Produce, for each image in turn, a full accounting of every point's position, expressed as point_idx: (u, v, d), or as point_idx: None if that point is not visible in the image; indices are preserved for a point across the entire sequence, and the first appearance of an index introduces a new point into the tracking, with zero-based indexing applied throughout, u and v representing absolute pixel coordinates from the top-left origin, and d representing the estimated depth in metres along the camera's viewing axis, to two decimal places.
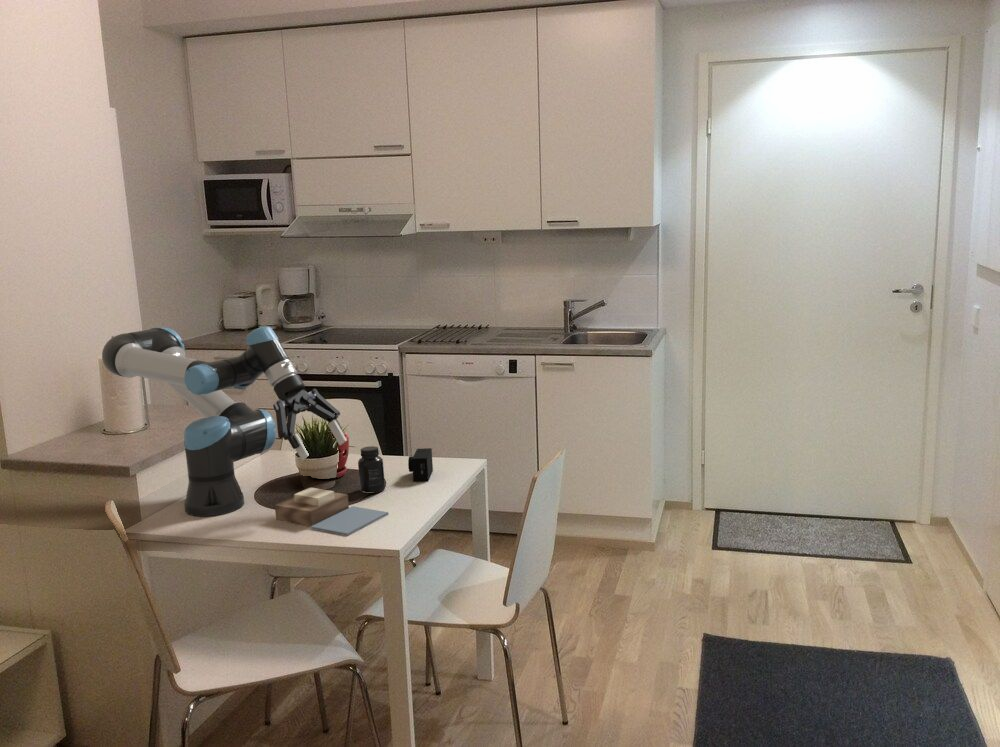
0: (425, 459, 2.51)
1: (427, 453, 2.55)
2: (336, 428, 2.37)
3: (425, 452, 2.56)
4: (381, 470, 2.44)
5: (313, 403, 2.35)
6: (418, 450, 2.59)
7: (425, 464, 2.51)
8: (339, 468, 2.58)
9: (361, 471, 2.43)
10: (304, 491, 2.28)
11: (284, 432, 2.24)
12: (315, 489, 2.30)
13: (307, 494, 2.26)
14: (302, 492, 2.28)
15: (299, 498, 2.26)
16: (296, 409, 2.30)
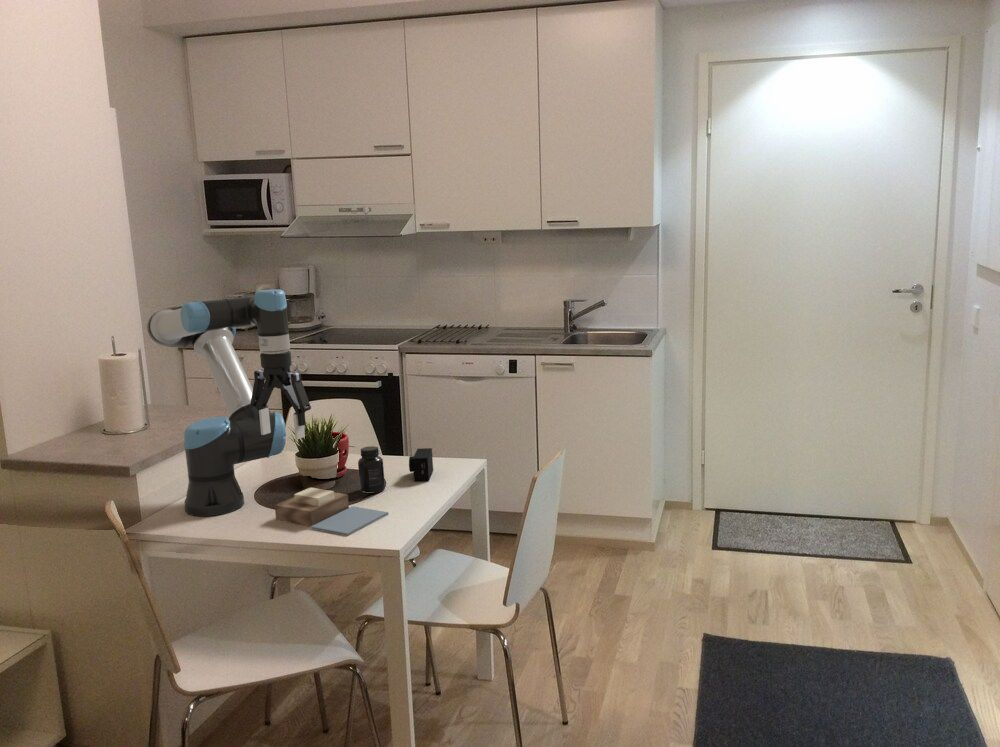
0: (426, 459, 2.51)
1: (427, 453, 2.56)
2: None
3: (425, 452, 2.56)
4: (381, 470, 2.44)
5: (281, 388, 2.24)
6: (418, 450, 2.59)
7: (426, 464, 2.51)
8: (339, 468, 2.58)
9: (361, 471, 2.43)
10: (304, 491, 2.28)
11: (251, 404, 2.31)
12: (315, 489, 2.30)
13: (307, 494, 2.26)
14: (302, 492, 2.28)
15: (299, 498, 2.26)
16: (265, 387, 2.26)
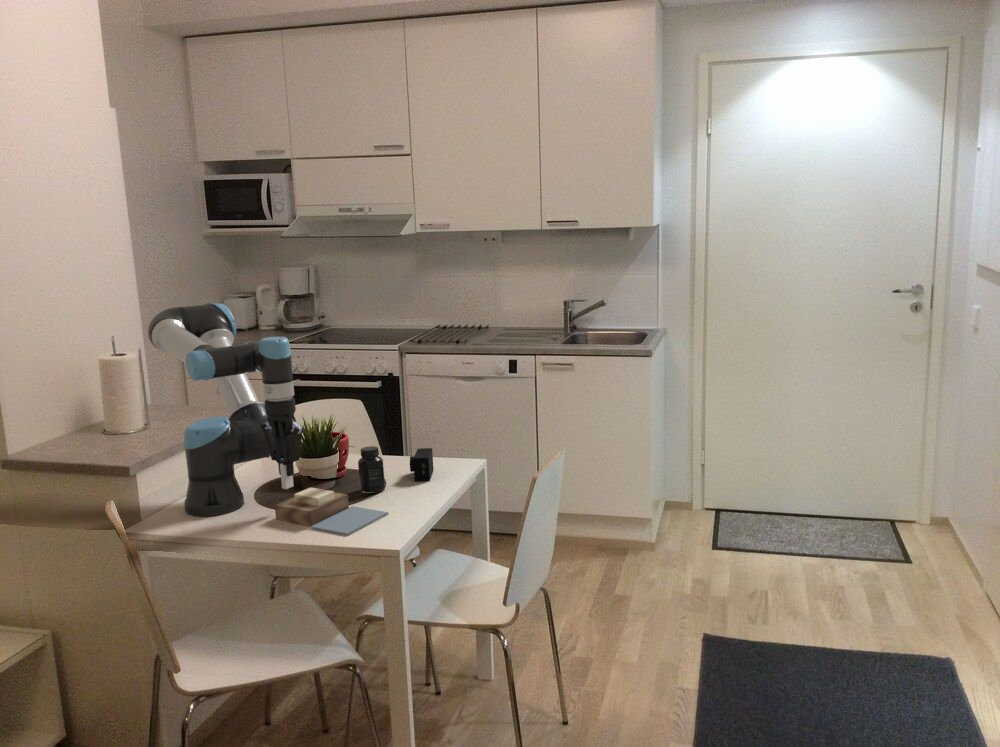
0: (427, 459, 2.51)
1: (428, 453, 2.56)
2: None
3: (426, 452, 2.56)
4: (381, 470, 2.44)
5: (281, 435, 2.27)
6: (419, 450, 2.59)
7: (427, 464, 2.51)
8: (339, 468, 2.58)
9: (361, 471, 2.43)
10: (304, 491, 2.28)
11: (272, 458, 2.30)
12: (315, 489, 2.30)
13: (307, 494, 2.26)
14: (302, 492, 2.28)
15: (299, 498, 2.26)
16: (275, 435, 2.28)
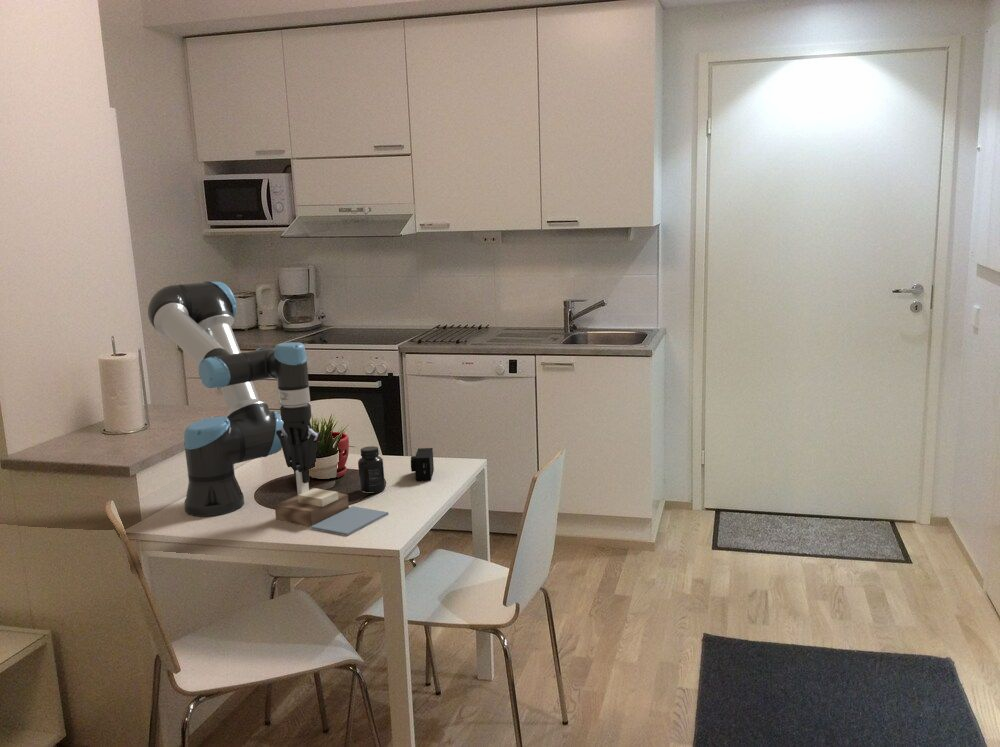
0: (428, 459, 2.51)
1: (429, 453, 2.56)
2: None
3: (427, 452, 2.57)
4: (381, 470, 2.44)
5: (297, 442, 2.24)
6: (419, 450, 2.59)
7: (428, 464, 2.51)
8: (339, 468, 2.58)
9: (361, 471, 2.43)
10: (308, 492, 2.28)
11: (287, 465, 2.28)
12: (319, 490, 2.29)
13: (311, 495, 2.25)
14: (305, 492, 2.27)
15: (303, 499, 2.25)
16: (290, 442, 2.25)
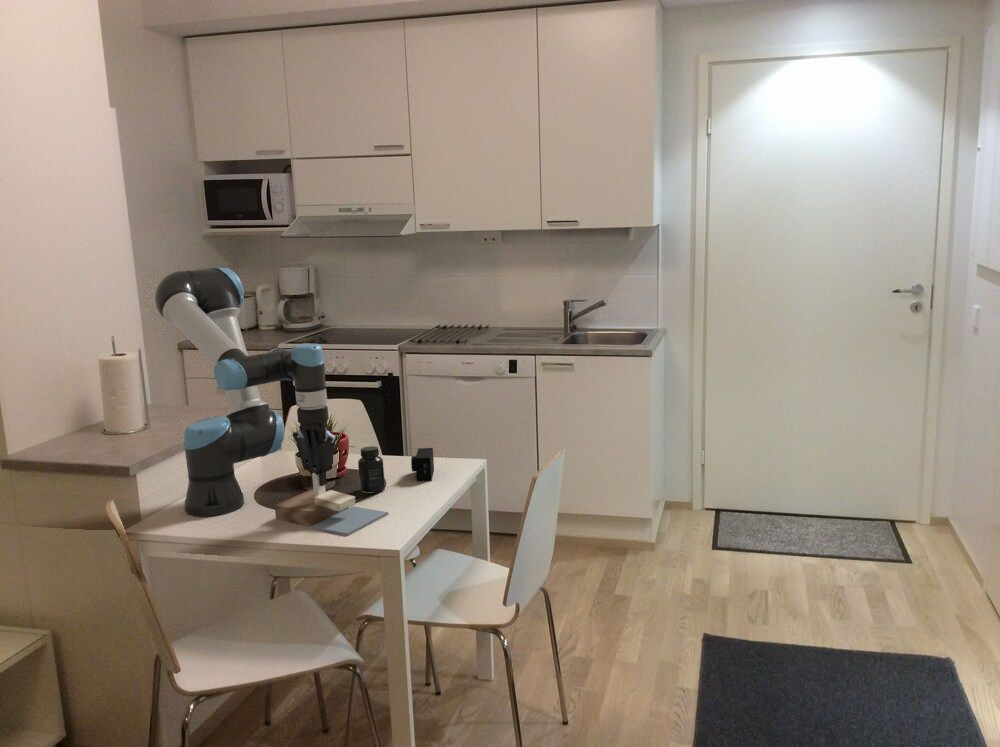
0: (428, 458, 2.51)
1: (429, 452, 2.56)
2: None
3: (427, 452, 2.57)
4: (381, 470, 2.44)
5: (314, 444, 2.21)
6: (420, 450, 2.59)
7: (428, 463, 2.52)
8: (339, 468, 2.58)
9: (361, 471, 2.43)
10: (325, 494, 2.25)
11: (304, 468, 2.25)
12: (336, 492, 2.26)
13: (328, 498, 2.22)
14: (322, 495, 2.25)
15: (320, 501, 2.22)
16: (307, 444, 2.23)
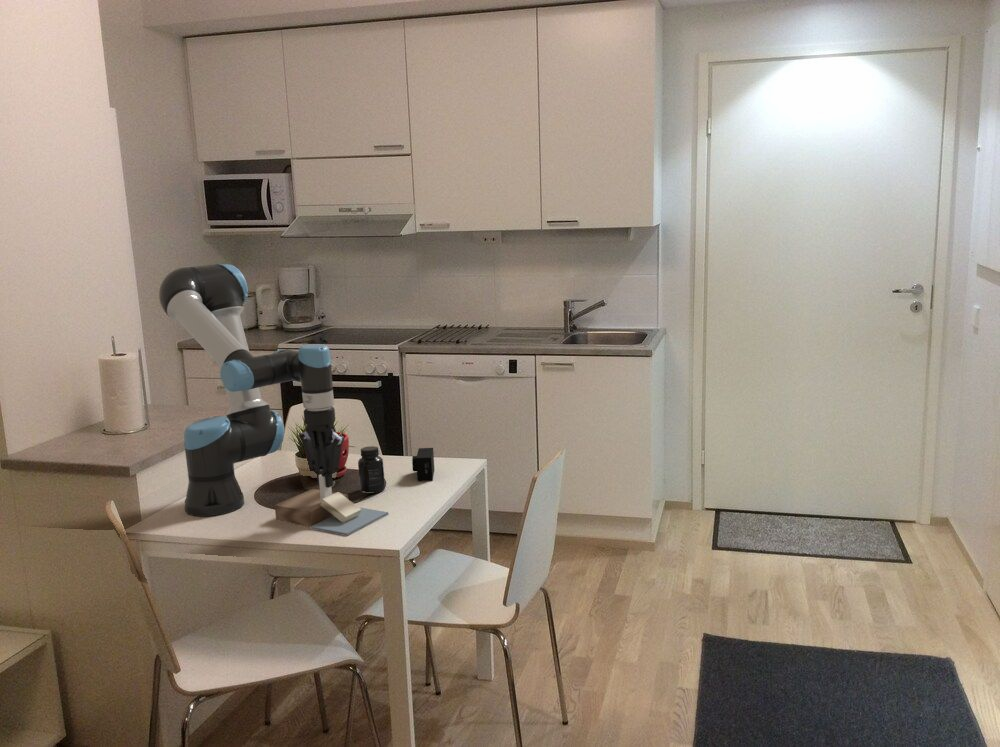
0: (429, 458, 2.51)
1: (430, 452, 2.56)
2: None
3: (428, 452, 2.57)
4: (381, 470, 2.44)
5: (320, 446, 2.21)
6: (420, 450, 2.59)
7: (429, 463, 2.52)
8: (339, 468, 2.58)
9: (361, 471, 2.43)
10: (332, 497, 2.24)
11: (310, 469, 2.24)
12: (343, 498, 2.25)
13: (335, 504, 2.22)
14: (330, 497, 2.23)
15: (326, 505, 2.21)
16: (314, 445, 2.22)
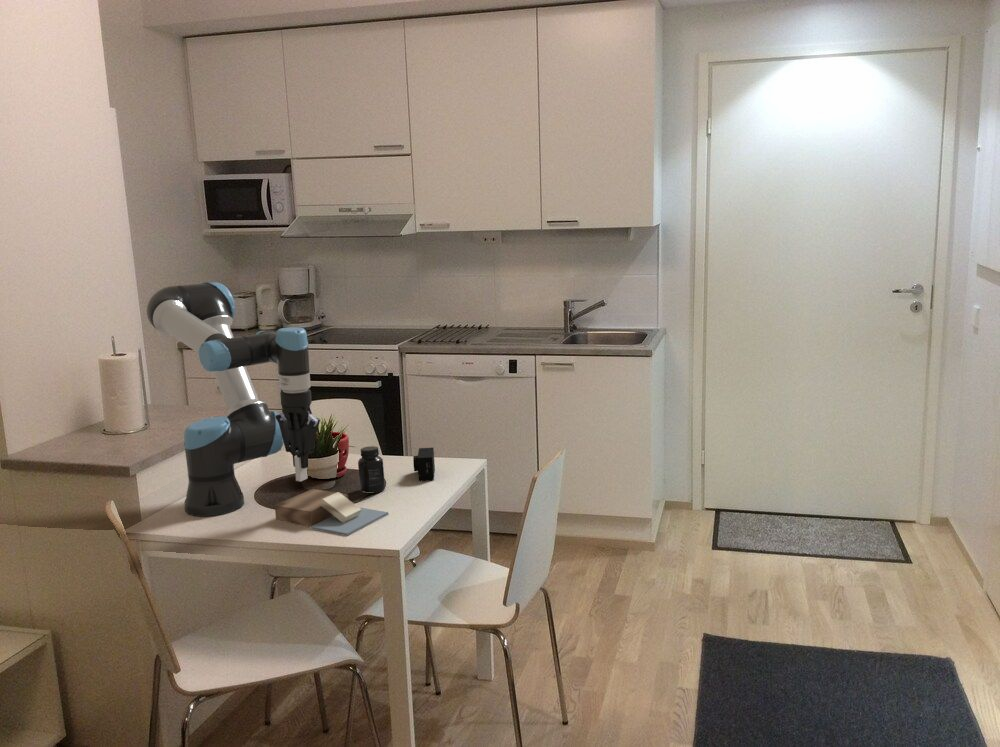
0: (430, 458, 2.52)
1: (431, 452, 2.56)
2: None
3: (428, 451, 2.57)
4: (381, 470, 2.44)
5: (296, 427, 2.24)
6: (421, 449, 2.59)
7: (430, 463, 2.52)
8: (339, 468, 2.58)
9: (361, 471, 2.43)
10: (332, 497, 2.24)
11: (286, 450, 2.28)
12: (343, 498, 2.25)
13: (335, 504, 2.22)
14: (330, 497, 2.23)
15: (326, 505, 2.21)
16: (290, 427, 2.25)
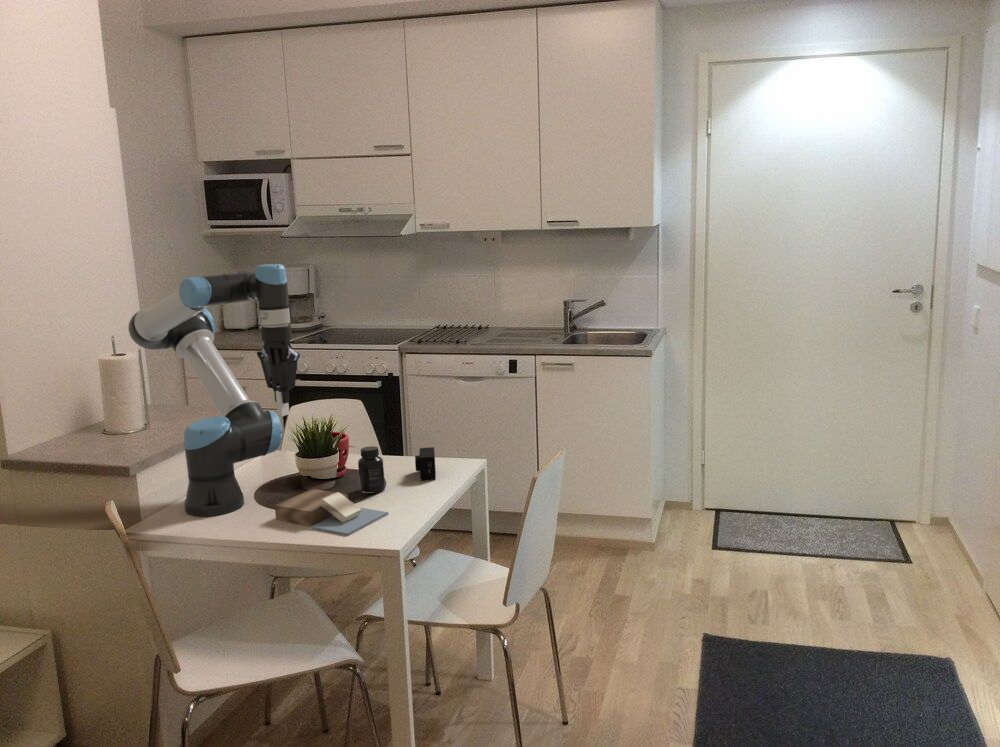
0: (432, 458, 2.52)
1: (432, 452, 2.56)
2: None
3: (430, 451, 2.57)
4: (381, 470, 2.44)
5: (277, 362, 2.28)
6: (421, 449, 2.60)
7: (432, 463, 2.52)
8: (339, 468, 2.58)
9: (361, 471, 2.43)
10: (332, 497, 2.24)
11: (268, 386, 2.32)
12: (343, 498, 2.25)
13: (335, 504, 2.22)
14: (330, 497, 2.23)
15: (326, 505, 2.21)
16: (271, 362, 2.29)
